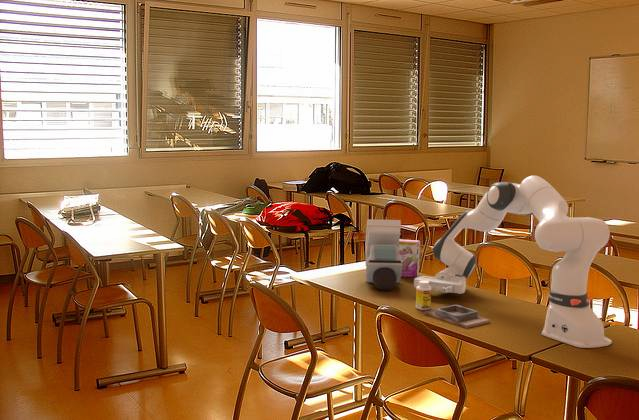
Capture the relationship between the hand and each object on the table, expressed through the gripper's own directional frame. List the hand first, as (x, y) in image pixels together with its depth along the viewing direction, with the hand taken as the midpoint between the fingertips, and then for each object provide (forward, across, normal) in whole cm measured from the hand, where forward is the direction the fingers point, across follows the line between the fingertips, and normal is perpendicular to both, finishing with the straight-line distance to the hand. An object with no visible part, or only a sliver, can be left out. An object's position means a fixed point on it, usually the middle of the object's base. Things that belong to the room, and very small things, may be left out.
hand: (433, 288), depth 263 cm
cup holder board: (+16, +15, +5) cm, 22 cm away
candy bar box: (-36, -26, +5) cm, 44 cm away
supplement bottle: (+10, 0, +6) cm, 12 cm away
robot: (-16, -28, +6) cm, 33 cm away
